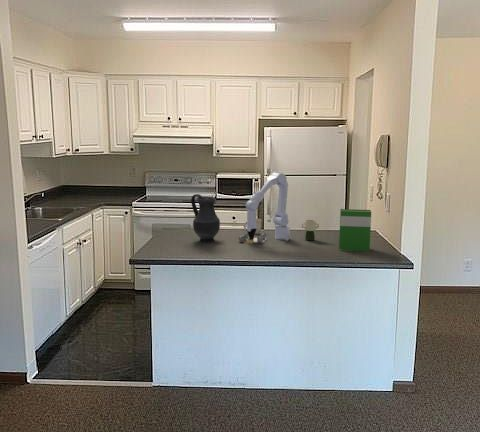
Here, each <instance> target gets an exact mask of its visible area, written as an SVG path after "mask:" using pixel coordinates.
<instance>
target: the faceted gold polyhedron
mask: <svg viewBox="0 0 480 432" xmlns="http://www.w3.org/2000/svg"><path fill="white" fill-rule="evenodd" d="M245 243H246V244H248V245H249V244H253V243H254V242H253V239H252V238H248V239H246V242H245Z"/></svg>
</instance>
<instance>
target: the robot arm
mask: <svg viewBox="0 0 480 432" xmlns="http://www.w3.org/2000/svg"><path fill="white" fill-rule="evenodd" d="M275 185H277V186H278V187H279V188H278V198H277V199H278V200H277V211H276V212H275V213H274V216H273V220H272V221H273V224H274V225H275V226H274V238H275V239H276V240H284V241H285V242H287V241H289V240H290V237H291V236H290V235H291V234H290V231H291V230H290V229H291V228H290V227H291V226H288V224H289V219H288V217H289V216H288V214H287V212H286V211H287V201H288V200H287V199H288V190H289V189H288V188H289V184H288V181H287V176H286V175H285V174H284V173H282V172H281V173H280V172H275V171H273V172H272V173H271V174H270V175H268V177H267V180H266V182H265V183H264V184H263V186H262V187H261V189H260V190H256V192H254V195H253V196H252V197H251V198H250V199H249V200H248V201H246V203H245V205H244V206H245V208H246V214H247V215H246V217H247V218H246V222H247V224H246V225H245V227H246V229H247V231H246V233H248V235H249V238H252V239H254V238H255V235H256V234H255V232H256V230H257V229H254V228H256V219H257V209H258V208H259V205H260V203H261V202H262V201H263V199H264V198H265V194H266V193H267V192H268V190H270V188H272V186H275Z"/></svg>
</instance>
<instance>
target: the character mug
mask: <svg viewBox="0 0 480 432" xmlns="http://www.w3.org/2000/svg"><path fill="white" fill-rule="evenodd" d="M319 226H320V223H318V222H317V220H316V219H306V220H304V222H302V223H301V228H302V229H305V231H306V232H305V236H304V239H305V240H306V241H314V240H315V237H316V235H315V231H316V230H317V229H319V228H320V227H319Z"/></svg>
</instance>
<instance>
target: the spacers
mask: <svg viewBox="0 0 480 432" xmlns="http://www.w3.org/2000/svg"><path fill="white" fill-rule="evenodd" d="M248 238H249V235H248V232H244V233H243V234H241V235H240V236H238V243H243V244H244V243H245V242H244V241H246V239H248ZM256 238H257V242H256V243H257V244H258V245H262V244H263V243H264V242H263V240H265V239H266V233H260V235H258V236H257V237H256ZM265 241H266V240H265ZM262 242H263V243H262Z"/></svg>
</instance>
